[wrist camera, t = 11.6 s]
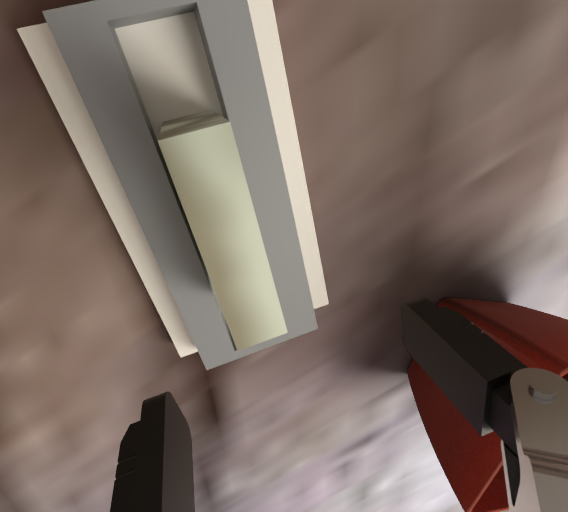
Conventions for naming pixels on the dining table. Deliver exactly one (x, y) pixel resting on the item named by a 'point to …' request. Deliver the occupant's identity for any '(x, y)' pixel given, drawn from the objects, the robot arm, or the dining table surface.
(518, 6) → the dining table surface
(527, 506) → the robot arm
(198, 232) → the door panel
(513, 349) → the plant pot
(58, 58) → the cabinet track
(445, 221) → the dining table surface
